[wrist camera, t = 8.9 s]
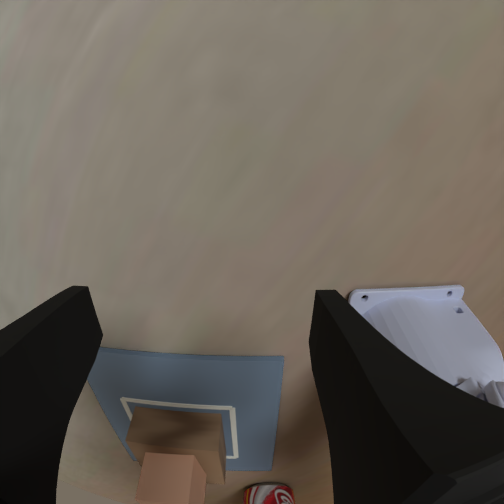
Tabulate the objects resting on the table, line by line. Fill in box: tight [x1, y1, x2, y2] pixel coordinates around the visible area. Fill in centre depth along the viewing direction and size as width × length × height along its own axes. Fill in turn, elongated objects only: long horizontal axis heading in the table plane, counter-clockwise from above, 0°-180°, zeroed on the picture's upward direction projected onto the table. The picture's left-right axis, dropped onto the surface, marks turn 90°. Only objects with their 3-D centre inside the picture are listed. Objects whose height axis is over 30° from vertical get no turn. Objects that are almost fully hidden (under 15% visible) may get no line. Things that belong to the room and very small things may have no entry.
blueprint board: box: [87, 347, 284, 471], centre depth 27 cm, size 17×20×1 cm
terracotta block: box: [135, 452, 207, 504], centre depth 21 cm, size 4×4×5 cm
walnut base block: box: [125, 406, 226, 484], centre depth 26 cm, size 8×8×4 cm
